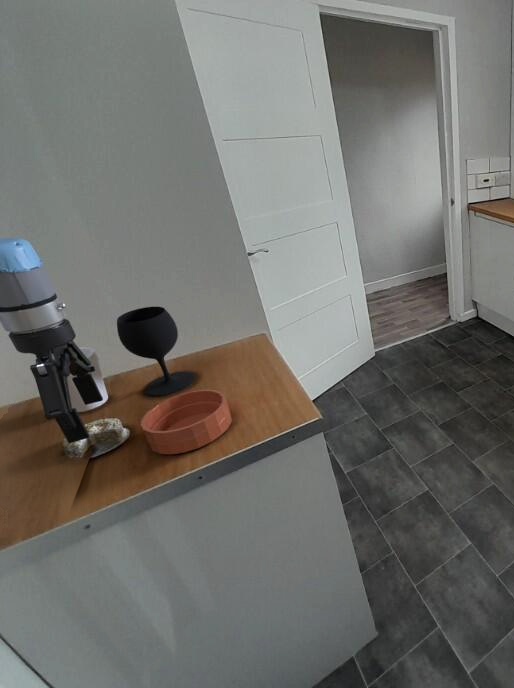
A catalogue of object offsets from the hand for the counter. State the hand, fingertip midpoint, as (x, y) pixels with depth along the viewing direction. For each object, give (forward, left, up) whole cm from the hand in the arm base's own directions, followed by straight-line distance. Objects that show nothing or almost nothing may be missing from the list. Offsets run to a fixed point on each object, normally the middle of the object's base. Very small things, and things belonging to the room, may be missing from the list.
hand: (87, 419), depth 82 cm
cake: (0, 0, -7) cm, 7 cm away
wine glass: (+11, +18, -7) cm, 22 cm away
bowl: (+16, -6, -6) cm, 18 cm away
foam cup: (-4, +18, -7) cm, 20 cm away
